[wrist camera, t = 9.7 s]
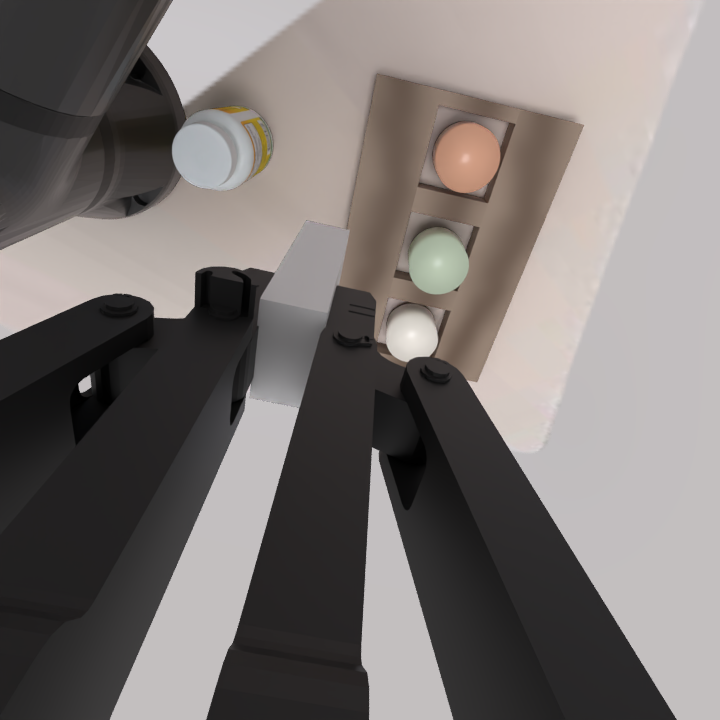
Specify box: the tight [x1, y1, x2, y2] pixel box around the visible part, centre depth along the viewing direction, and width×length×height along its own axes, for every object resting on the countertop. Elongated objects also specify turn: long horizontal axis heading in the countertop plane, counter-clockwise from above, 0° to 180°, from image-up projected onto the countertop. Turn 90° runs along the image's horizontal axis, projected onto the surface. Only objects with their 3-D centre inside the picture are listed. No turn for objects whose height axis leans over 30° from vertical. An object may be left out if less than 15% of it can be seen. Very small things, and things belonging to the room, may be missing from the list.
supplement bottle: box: [172, 106, 273, 191], centre depth 35 cm, size 5×5×10 cm
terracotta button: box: [433, 121, 500, 193], centre depth 36 cm, size 5×5×3 cm
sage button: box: [408, 227, 469, 294], centre depth 39 cm, size 5×5×3 cm
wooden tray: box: [339, 74, 584, 382], centre depth 42 cm, size 16×24×2 cm, turn 168°
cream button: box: [386, 304, 438, 362], centre depth 45 cm, size 5×5×3 cm
